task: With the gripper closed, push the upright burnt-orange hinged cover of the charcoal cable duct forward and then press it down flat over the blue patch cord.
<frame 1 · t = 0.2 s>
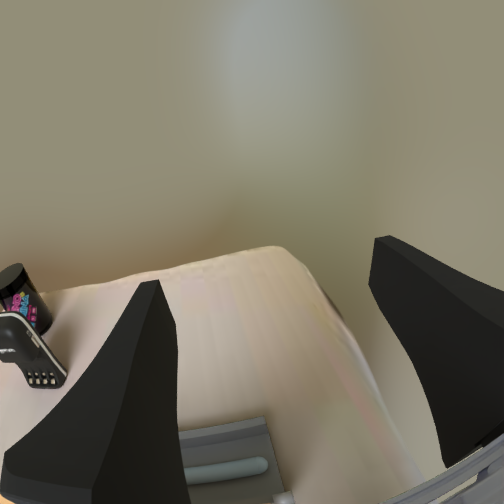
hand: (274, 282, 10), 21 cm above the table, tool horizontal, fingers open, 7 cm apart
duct: (167, 483, 21), on the table
supplement container: (38, 327, 41), on the table
battery charger: (48, 383, 32), on the table
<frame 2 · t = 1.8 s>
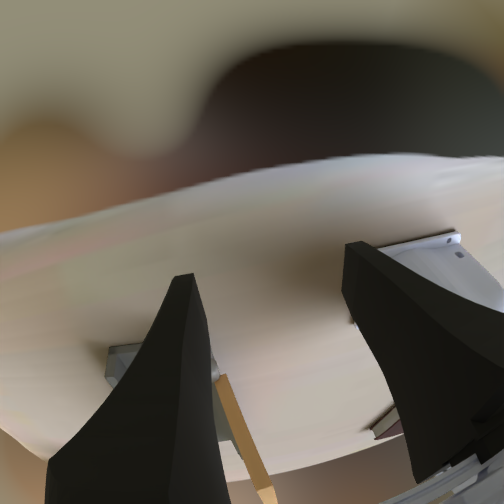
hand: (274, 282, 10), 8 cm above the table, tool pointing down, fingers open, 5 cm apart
book: (425, 398, 44), on the table
cover: (253, 463, 22), point 8 cm above the table, hinge at 100.0°
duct: (188, 402, 28), on the table
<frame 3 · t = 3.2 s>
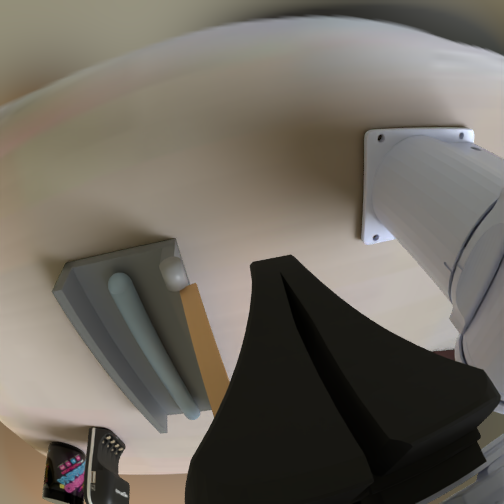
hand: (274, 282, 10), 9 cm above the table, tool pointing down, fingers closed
cover: (237, 424, 18), point 8 cm above the table, hinge at 100.0°
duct: (163, 350, 24), on the table
supplement container: (67, 448, 36), on the table
battery charger: (111, 435, 33), on the table
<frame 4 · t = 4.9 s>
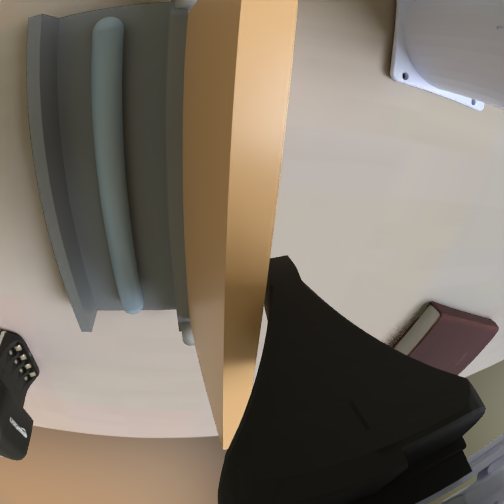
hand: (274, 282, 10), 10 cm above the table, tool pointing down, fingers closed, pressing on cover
book: (436, 341, 36), on the table
cover: (209, 241, 12), point 8 cm above the table, hinge at 97.6°, touching gripper
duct: (118, 175, 17), on the table
battery charger: (24, 350, 24), on the table
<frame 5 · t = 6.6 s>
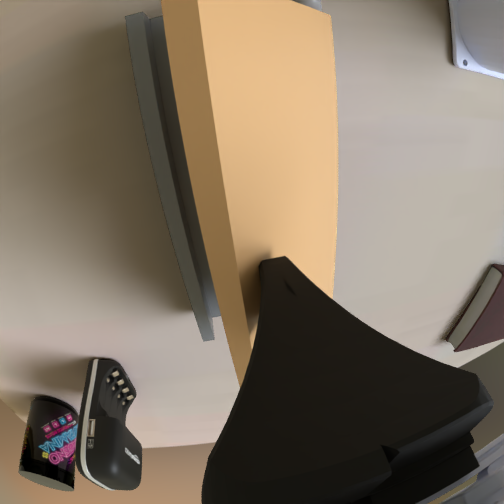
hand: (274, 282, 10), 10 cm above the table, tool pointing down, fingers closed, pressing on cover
book: (499, 298, 34), on the table
cover: (293, 232, 12), point 7 cm above the table, hinge at 49.6°, touching gripper
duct: (234, 177, 18), on the table
supplement container: (56, 406, 29), on the table
battery charger: (118, 375, 27), on the table
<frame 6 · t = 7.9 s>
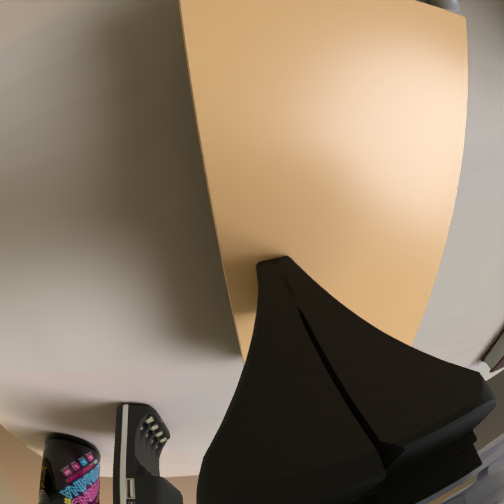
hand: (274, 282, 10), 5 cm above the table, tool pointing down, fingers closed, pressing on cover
cover: (351, 254, 11), point 4 cm above the table, hinge at 3.7°, touching gripper
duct: (323, 203, 14), on the table
supplement container: (73, 442, 25), on the table
battery charger: (149, 417, 23), on the table
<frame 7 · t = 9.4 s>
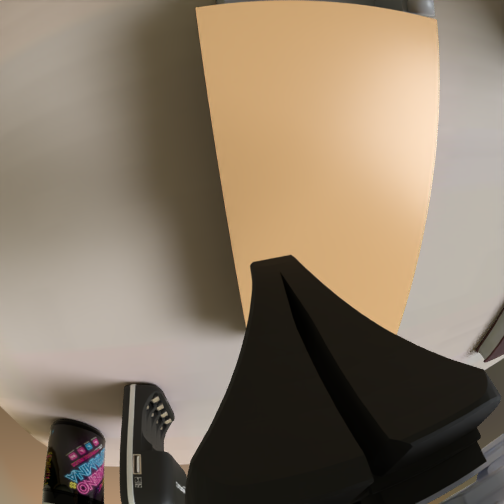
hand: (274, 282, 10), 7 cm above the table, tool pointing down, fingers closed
cover: (337, 221, 13), point 4 cm above the table, hinge at -1.2°
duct: (317, 186, 16), on the table
supplement container: (78, 429, 27), on the table
battery charger: (155, 398, 25), on the table
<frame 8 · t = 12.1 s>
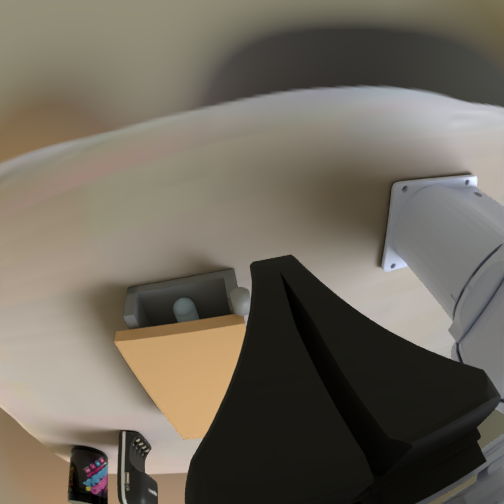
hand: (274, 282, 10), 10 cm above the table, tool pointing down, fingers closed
cover: (205, 394, 25), point 4 cm above the table, hinge at -1.2°
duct: (207, 360, 28), on the table
supplement container: (89, 451, 39), on the table
battery charger: (138, 437, 37), on the table
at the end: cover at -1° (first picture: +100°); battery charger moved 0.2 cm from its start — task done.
